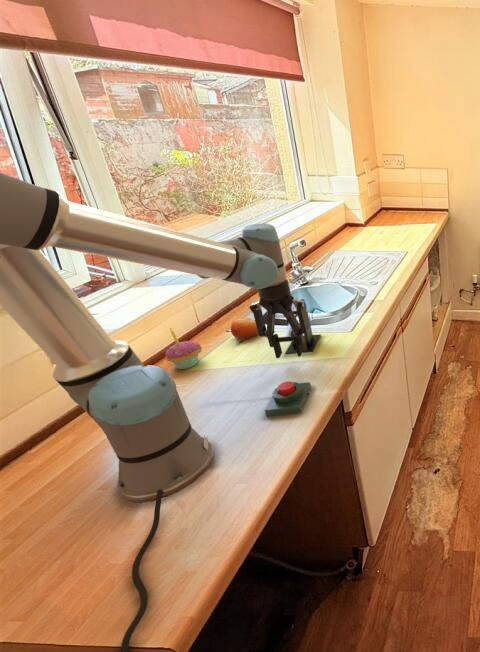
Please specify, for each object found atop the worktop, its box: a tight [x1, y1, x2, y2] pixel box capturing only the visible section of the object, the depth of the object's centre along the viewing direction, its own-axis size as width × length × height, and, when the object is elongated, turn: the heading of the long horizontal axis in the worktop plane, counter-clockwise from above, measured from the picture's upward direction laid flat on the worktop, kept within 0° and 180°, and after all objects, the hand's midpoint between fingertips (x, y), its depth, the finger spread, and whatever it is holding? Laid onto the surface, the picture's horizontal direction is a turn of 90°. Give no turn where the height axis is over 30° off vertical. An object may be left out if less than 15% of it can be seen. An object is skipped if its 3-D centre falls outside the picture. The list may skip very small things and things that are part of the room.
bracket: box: [284, 301, 322, 355], centre depth 126 cm, size 10×8×15 cm
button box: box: [264, 381, 312, 418], centre depth 104 cm, size 10×8×4 cm
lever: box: [276, 304, 298, 343], centre depth 119 cm, size 14×5×2 cm, turn 11°
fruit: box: [230, 317, 259, 344], centre depth 132 cm, size 8×8×8 cm
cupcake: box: [164, 327, 203, 370], centre depth 117 cm, size 9×8×12 cm
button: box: [277, 380, 295, 395], centre depth 103 cm, size 4×4×2 cm
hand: (289, 354), depth 117 cm, fingers closed on lever, 5 cm apart
